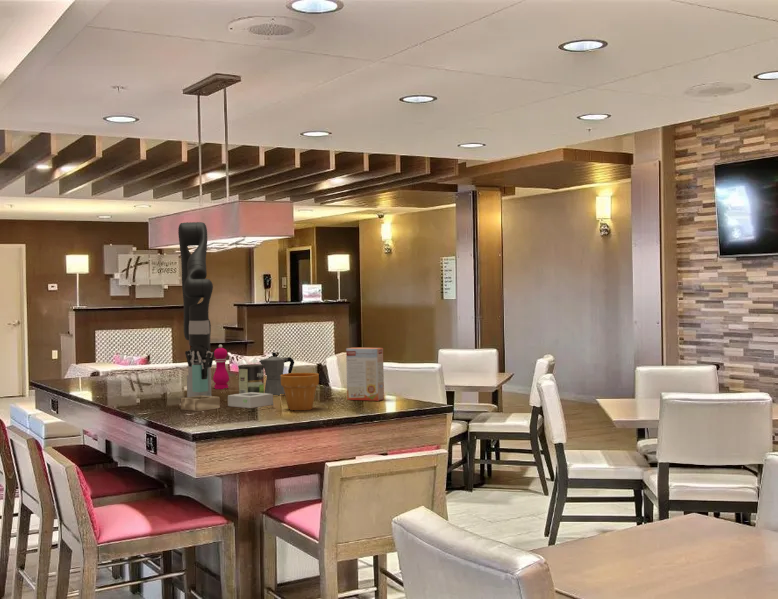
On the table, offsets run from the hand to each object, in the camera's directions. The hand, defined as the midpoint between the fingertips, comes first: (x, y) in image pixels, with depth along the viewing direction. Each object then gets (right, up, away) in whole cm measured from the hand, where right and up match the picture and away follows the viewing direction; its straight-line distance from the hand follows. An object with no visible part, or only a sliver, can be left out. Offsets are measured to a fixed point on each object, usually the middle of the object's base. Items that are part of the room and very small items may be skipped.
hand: (200, 378), depth 338 cm
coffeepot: (+23, -11, +48) cm, 54 cm away
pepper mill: (-6, -11, +75) cm, 76 cm away
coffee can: (+14, -12, +32) cm, 37 cm away
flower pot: (+37, -12, +1) cm, 39 cm away
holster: (0, -12, 0) cm, 12 cm away
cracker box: (+61, -11, +26) cm, 67 cm away
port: (+18, -12, +7) cm, 22 cm away
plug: (0, -5, 0) cm, 5 cm away
